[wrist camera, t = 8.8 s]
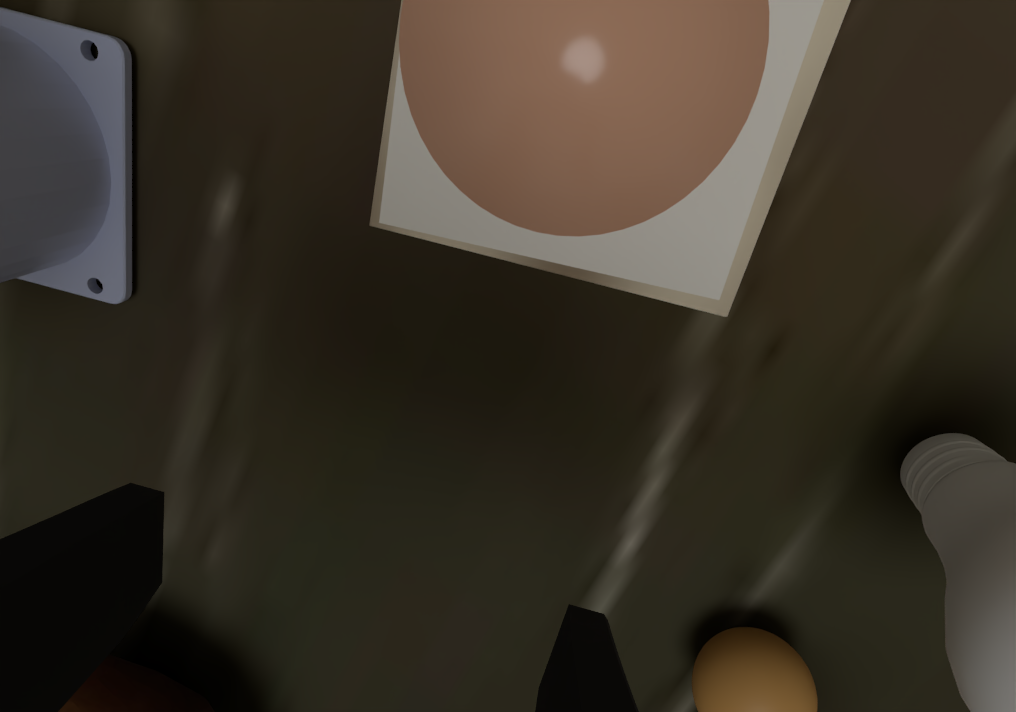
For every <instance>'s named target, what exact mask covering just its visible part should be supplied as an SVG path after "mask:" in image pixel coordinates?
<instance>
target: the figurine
mask: <svg viewBox="0 0 1016 712" xmlns="http://www.w3.org/2000/svg"><path fill="white" fill-rule="evenodd" d="M692 691H693V697H694V701H695V704H696V707H697V710H698V712H817V693H816V688H815V684H814V681H813V678H812V675H811V673H810V671H809V669H808V667H807V665H806V664H805V662H804V661H803V659H802V658H801V657H800V655H799V654H798V653H797V652H796V651H795V650H794V649H793V648H792V647H791V646H790V645H789V644H788V643H787V642H785V641H784V640H783V639H781V638H779V637H778V636H776V635H774V634H772V633H770V632H768V631H765V630H762V629H758V628H753V627H736V628H731V629H727V630H725V631H722V632H720V633H718V634H717V635H715V636H714V637H712V638H711V639H710V640H709V641H708V642H707V643H706V644H705V645H704V646H703V648H702V649H701V651H700V652H699V654H698V656H697V658H696V661H695V664H694V668H693V673H692Z"/></svg>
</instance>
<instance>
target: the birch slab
mask: <svg viewBox="0 0 1016 712" xmlns="http://www.w3.org/2000/svg"><path fill="white" fill-rule="evenodd" d="M850 1H851V0H824V2H823V5H822V7H821V10H820V13H819V16H818V19H817V22H816V25H815V27H814V30H813V33H812V36H811V39H810V42H809V45H808V48H807V50H806V53H805V56H804V59H803V62H802V65H801V68H800V70H799V73H798V76H797V79H796V82H795V85H794V88H793V91H792V93H791V96H790V99H789V102H788V105H787V108H786V111H785V113H784V116H783V119H782V122H781V125H780V128H779V131H778V134H777V136H776V139H775V142H774V145H773V148H772V151H771V154H770V156H769V159H768V162H767V165H766V168H765V171H764V174H763V177H762V179H761V182H760V185H759V188H758V191H757V194H756V197H755V199H754V202H753V205H752V208H751V211H750V214H749V217H748V219H747V222H746V225H745V228H744V231H743V234H742V237H741V240H740V242H739V245H738V248H737V251H736V254H735V257H734V260H733V262H732V265H731V268H730V271H729V274H728V277H727V280H726V283H725V285H724V288H723V291H722V294H721V297H720V300H716V299H711V298H707V297H703V296H698V295H694V294H689V293H685V292H681V291H676V290H672V289H667V288H663V287H659V286H654V285H650V284H646V283H641V282H637V281H632V280H628V279H624V278H619V277H615V276H610V275H606V274H602V273H597V272H593V271H588V270H584V269H580V268H575V267H571V266H566V265H562V264H558V263H553V262H549V261H545V260H540V259H536V258H531V257H527V256H523V255H518V254H514V253H509V252H505V251H501V250H496V249H492V248H487V247H483V246H479V245H474V244H470V243H465V242H461V241H457V240H452V239H448V238H444V237H439V236H435V235H430V234H426V233H422V232H417V231H413V230H408V229H404V228H400V227H395V226H391V225H386V224H382V223H379V219H380V211H381V202H382V194H383V186H384V177H385V169H386V160H387V152H388V144H389V135H390V127H391V119H392V110H393V102H394V94H395V85H396V77H397V69H398V60H399V32H400V16H401V10H402V4H403V0H401V7H400V14H399V21H398V28H397V35H396V42H395V49H394V56H393V63H392V70H391V77H390V84H389V91H388V98H387V105H386V112H385V119H384V126H383V133H382V140H381V147H380V154H379V161H378V168H377V175H376V183H375V190H374V197H373V204H372V211H371V218H370V225H369V226H373V227H377V228H381V229H385V230H389V231H393V232H397V233H401V234H404V235H408V236H412V237H416V238H420V239H424V240H428V241H432V242H436V243H439V244H443V245H447V246H451V247H455V248H459V249H463V250H467V251H471V252H475V253H478V254H482V255H486V256H490V257H494V258H498V259H502V260H506V261H510V262H514V263H517V264H521V265H525V266H529V267H533V268H537V269H541V270H545V271H549V272H552V273H556V274H560V275H564V276H568V277H572V278H576V279H580V280H584V281H588V282H591V283H595V284H599V285H603V286H607V287H611V288H615V289H619V290H623V291H627V292H630V293H634V294H638V295H642V296H646V297H650V298H654V299H658V300H662V301H665V302H669V303H673V304H677V305H681V306H685V307H689V308H693V309H697V310H701V311H704V312H708V313H712V314H716V315H720V316H724V317H727V316H728V313H729V311H730V308H731V305H732V303H733V300H734V298H735V295H736V293H737V290H738V288H739V285H740V282H741V280H742V277H743V275H744V272H745V270H746V267H747V264H748V262H749V259H750V257H751V254H752V252H753V249H754V247H755V244H756V241H757V239H758V236H759V234H760V231H761V229H762V226H763V224H764V221H765V218H766V216H767V213H768V211H769V208H770V206H771V203H772V200H773V198H774V195H775V193H776V190H777V188H778V185H779V183H780V180H781V177H782V175H783V172H784V170H785V167H786V165H787V162H788V159H789V157H790V154H791V152H792V149H793V147H794V144H795V142H796V139H797V136H798V134H799V131H800V129H801V126H802V124H803V121H804V118H805V116H806V113H807V111H808V108H809V106H810V103H811V101H812V98H813V95H814V93H815V90H816V88H817V85H818V83H819V80H820V77H821V75H822V72H823V70H824V67H825V65H826V62H827V60H828V57H829V54H830V52H831V49H832V47H833V44H834V42H835V39H836V36H837V34H838V31H839V29H840V26H841V24H842V21H843V19H844V16H845V13H846V11H847V8H848V6H849V3H850Z"/></svg>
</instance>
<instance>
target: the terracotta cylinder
mask: <svg viewBox="0 0 1016 712" xmlns="http://www.w3.org/2000/svg"><path fill="white" fill-rule="evenodd" d="M769 13H770V12H769V2H768V0H403V4H402V10H401V16H400V32H399V52H400V68H401V74H402V80H403V86H404V92H405V95H406V99H407V102H408V105H409V109H410V112H411V116H412V118H413V120H414V123H415V125H416V127H417V130H418V132H419V134H420V137H421V139H422V140H423V142H424V144H425V146H426V147H427V149H428V151H429V153H430V154H431V156H432V158H433V159H434V160H435V162H436V163H437V164H438V166H439V167H440V169H441V170H442V171H443V173H444V174H445V175H446V176H447V177H448V178H449V179H450V181H451V182H452V183H453V184H454V185H455V186H456V187H457V188H458V189H459V190H460V191H461V192H462V193H463V194H465V195H466V196H467V197H468V198H469V199H471V200H472V201H473V202H474V203H476V204H477V205H478V206H480V207H481V208H483V209H485V210H486V211H488V212H489V213H491V214H493V215H494V216H496V217H498V218H500V219H502V220H504V221H506V222H509V223H511V224H513V225H515V226H518V227H521V228H525V229H528V230H531V231H534V232H539V233H545V234H550V235H556V236H578V237H579V236H590V235H601V234H605V233H610V232H614V231H619V230H623V229H626V228H628V227H631V226H634V225H637V224H640V223H642V222H645V221H647V220H649V219H651V218H653V217H655V216H657V215H659V214H660V213H662V212H664V211H666V210H667V209H669V208H670V207H672V206H673V205H675V204H676V203H678V202H679V201H681V200H682V199H684V198H685V197H686V196H687V195H688V194H690V193H691V192H692V191H693V190H694V189H695V188H697V187H698V186H699V185H700V184H701V183H702V182H703V181H704V180H705V179H706V178H707V177H708V176H709V175H710V174H711V172H712V171H713V170H714V169H715V168H716V167H717V166H718V165H719V164H720V162H721V161H722V159H723V158H724V157H725V155H726V154H727V152H728V151H729V150H730V148H731V147H732V145H733V144H734V143H735V141H736V139H737V137H738V135H739V134H740V132H741V130H742V128H743V126H744V125H745V123H746V121H747V119H748V116H749V114H750V112H751V109H752V107H753V104H754V102H755V99H756V97H757V94H758V91H759V87H760V83H761V80H762V76H763V72H764V69H765V62H766V56H767V49H768V42H769Z"/></svg>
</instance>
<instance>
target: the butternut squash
mask: <svg viewBox="0 0 1016 712" xmlns="http://www.w3.org/2000/svg"><path fill="white" fill-rule="evenodd" d="M58 712H215V711H214V710H213V708H212V707H211V705H210V704H209V702H208V701H207V699H206V698H204V697H203V696H201V695H200V694H198V693H196V692H195V691H193V690H191V689H189V688H187V687H185V686H184V685H182V684H180V683H178V682H176V681H174V680H173V679H171V678H169V677H167V676H165V675H164V674H162V673H160V672H158V671H156V670H153V669H150V668H147V667H144V666H141V665H138V664H135V663H132V662H130V661H127V660H124V659H121V658H119V657H116V656H113V655H110V654H109V655H108V656H107V657H106V658H105V659H104V661H103V662H102V663H101V664H100V665H99V666H98V667H97V669H96V670H95V671H94V672H93V673H92V674H91V675H90V677H89V678H88V679H87V680H86V681H85V682H84V683H83V684H82V686H81V687H80V688H79V689H78V690H77V691H76V692H75V693H74V695H73V696H72V697H71V698H70V699H69V700H68V701H67V702H66V704H65V705H64V706H63V707H62V708H61V709H60V710H59V711H58Z"/></svg>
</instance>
